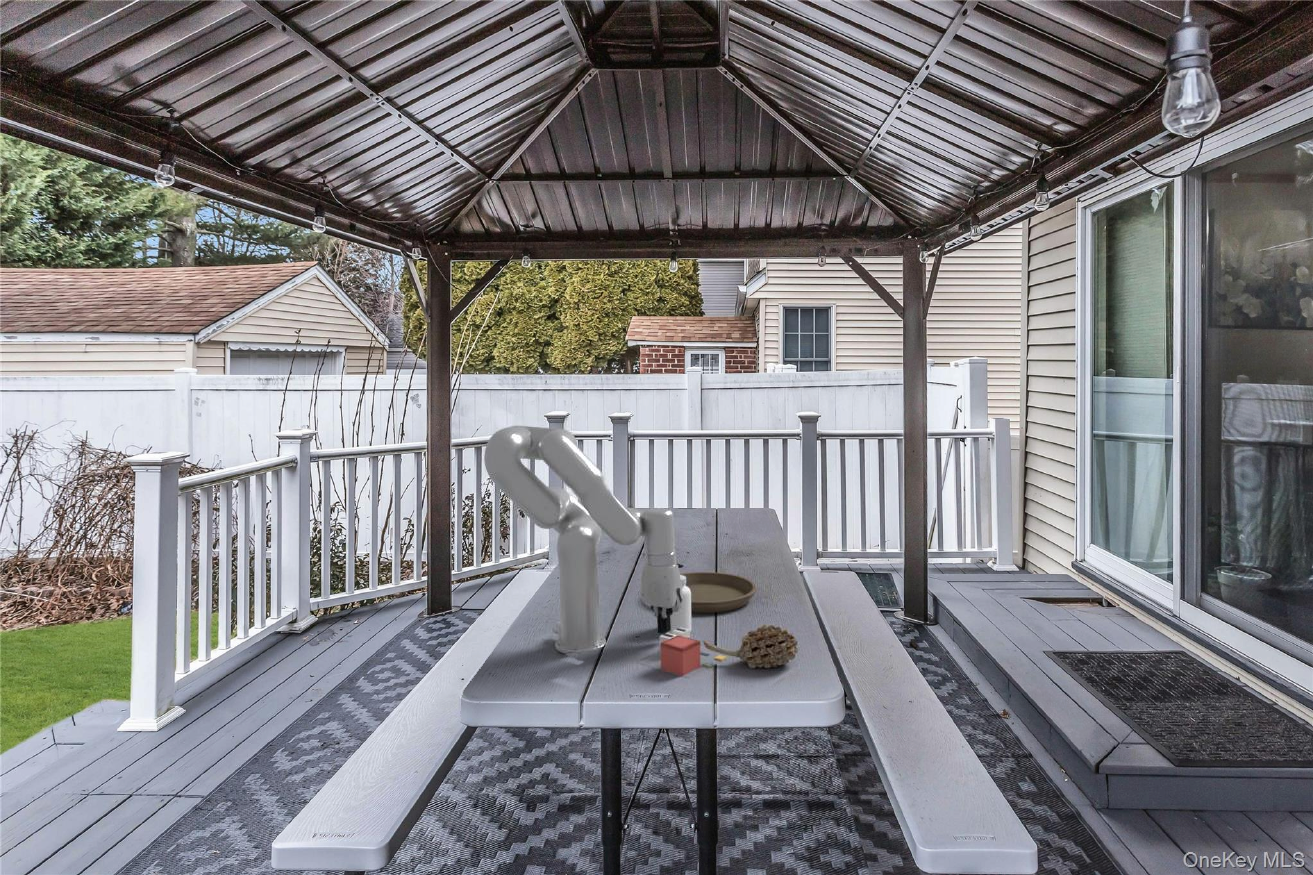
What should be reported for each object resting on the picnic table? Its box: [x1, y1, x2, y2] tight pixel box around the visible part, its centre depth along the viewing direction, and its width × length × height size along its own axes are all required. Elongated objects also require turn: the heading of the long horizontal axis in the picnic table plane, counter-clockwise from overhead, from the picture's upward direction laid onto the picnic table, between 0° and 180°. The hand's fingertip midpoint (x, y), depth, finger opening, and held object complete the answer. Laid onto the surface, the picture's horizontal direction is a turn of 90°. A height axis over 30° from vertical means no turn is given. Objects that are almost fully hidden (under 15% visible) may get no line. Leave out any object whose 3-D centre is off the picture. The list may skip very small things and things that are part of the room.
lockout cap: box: [659, 636, 701, 677], centre depth 172 cm, size 6×6×6 cm
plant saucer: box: [680, 571, 757, 614], centre depth 228 cm, size 31×31×5 cm
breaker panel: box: [637, 633, 732, 679], centre depth 178 cm, size 15×18×6 cm
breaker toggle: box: [673, 627, 691, 639], centre depth 185 cm, size 3×3×4 cm
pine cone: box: [701, 624, 799, 669], centre depth 174 cm, size 22×10×10 cm, turn 85°
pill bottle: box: [665, 575, 692, 634], centre depth 198 cm, size 8×8×15 cm
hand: (664, 631), depth 189 cm, fingers closed
